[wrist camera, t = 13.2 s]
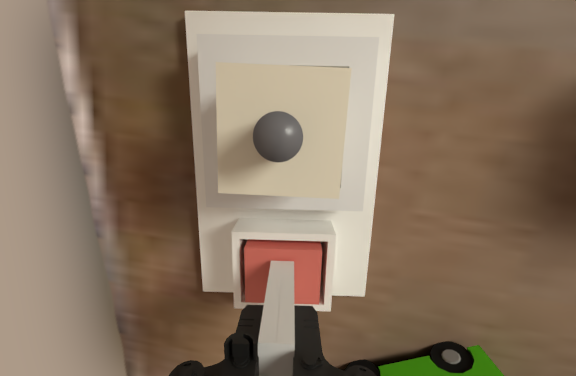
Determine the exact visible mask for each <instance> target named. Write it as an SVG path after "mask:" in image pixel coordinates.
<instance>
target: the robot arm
mask: <svg viewBox="0 0 576 376" xmlns="http://www.w3.org/2000/svg"><path fill="white" fill-rule="evenodd" d="M224 353H225V359H224V360H223V361H221V362H220V363H218V364H215V365H212V366H208V367H203V365H202V364H201V363H200V362H198V361H191V360H190V361H186V362H183V363H181V364H180V365H178V366H177V367H176V368H175V369H174V370H173V371H172V372H171V373H170V374H169V376H376V375H375V374H374V372H373V371H371V370H370V369H368V368H367V367H364V366H361V365H354V366H351V367H349V368H348V369H347V370H346V371H344V370H341V369H338V368H336V367H333V366H332V365H330V364H329V363H328V362H327V361H326V360H325V358H324V356H323V353H322V347H321V339H320V331H319V323H318V315H317V312H316V310H315V309H314V307H313V306H300V305H294V261H271V263H270V269H269V276H268V282H267V288H266V294H265V301H264V305H246V307H245V308H244V309H243V310H242V311H241V315H240V319H239V322H238V327H237V330H236V333H234V334H232V335H230V336H229V337H228V338H227V339H226V341H225V343H224Z"/></svg>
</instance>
